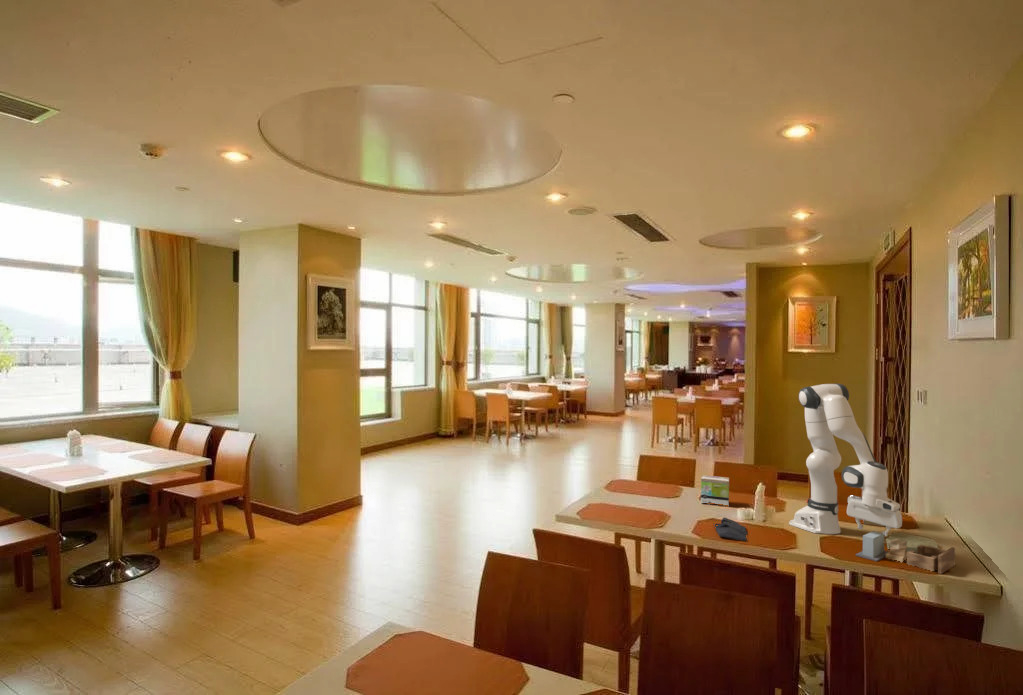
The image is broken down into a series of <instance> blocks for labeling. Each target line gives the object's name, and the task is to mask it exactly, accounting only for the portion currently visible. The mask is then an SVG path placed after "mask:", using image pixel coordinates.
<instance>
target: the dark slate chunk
mask: <svg viewBox="0 0 1023 695" xmlns="http://www.w3.org/2000/svg"><path fill="white" fill-rule="evenodd" d="M714 524H715V527H716V530H715V531H716V533H717V535H718V536H719V537H720V538H722V537H725V538H724V539H729V538H731V540H734V539H735V541H739V540H742V541H741V542H747V541H746V540H747V538H746V535H748V530H747V531H746V529H747V527H746V526H744V525H741V524H740V523H738V521H735V520H732V519H731V518H727V517H722V519H721V522H720V523H714ZM716 525H718V526H716ZM715 527H714V528H715Z"/></svg>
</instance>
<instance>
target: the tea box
mask: <svg viewBox="0 0 1023 695" xmlns="http://www.w3.org/2000/svg"><path fill="white" fill-rule="evenodd" d="M729 502H730V477H725V476H715V475H706V474H702V475H701V478H700V504H701V503H715V504H723V505H728V506H729V505H730V504H729Z"/></svg>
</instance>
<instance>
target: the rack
mask: <svg viewBox="0 0 1023 695" xmlns="http://www.w3.org/2000/svg"><path fill="white" fill-rule="evenodd" d="M907 564H908V566H910V565H912V566H911V567H914V566H917V567H919V568H918V569H921V568H923V569H922V570H925V569H927V570H926V571H928V570H930V571H929V572H932V571H934V572H935V570H936V569H937V570H936V571H937V574H940V575H942V574H944V573H945V572H947V571H948V570H950V569H951V568H952V567H954V566H955V565H956V548H955V547H953V546H951V547H949V548H948V549H942V548H939V547H938V548H934V547H930V546H926V545H922V544H921V545H919V546H918V547H917V554H916V553H915V551H913V550H910V551H908V552H907V560H906V565H907ZM917 567H916V568H917Z"/></svg>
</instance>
